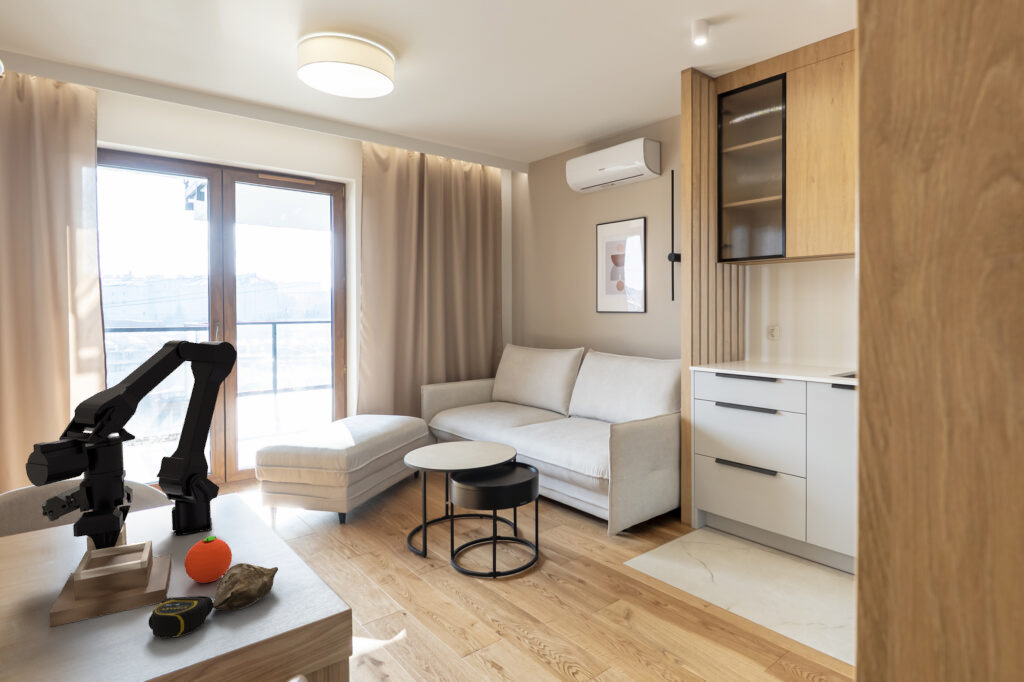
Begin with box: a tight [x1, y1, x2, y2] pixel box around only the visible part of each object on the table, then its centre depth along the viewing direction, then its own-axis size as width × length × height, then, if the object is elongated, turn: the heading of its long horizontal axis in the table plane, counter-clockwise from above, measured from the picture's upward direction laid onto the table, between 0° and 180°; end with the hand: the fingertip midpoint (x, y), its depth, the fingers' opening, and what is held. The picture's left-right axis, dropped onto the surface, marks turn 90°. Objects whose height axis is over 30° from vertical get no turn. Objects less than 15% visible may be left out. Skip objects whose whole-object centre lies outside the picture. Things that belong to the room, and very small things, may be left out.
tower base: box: [48, 539, 172, 628], centre depth 88 cm, size 14×14×6 cm
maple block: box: [86, 522, 127, 551], centre depth 99 cm, size 5×5×6 cm
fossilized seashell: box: [213, 562, 279, 612], centre depth 85 cm, size 8×7×10 cm
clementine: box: [183, 535, 233, 584], centre depth 92 cm, size 8×7×7 cm
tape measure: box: [148, 595, 214, 639], centre depth 78 cm, size 7×7×4 cm
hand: (108, 556), depth 99 cm, fingers closed on maple block, 5 cm apart
